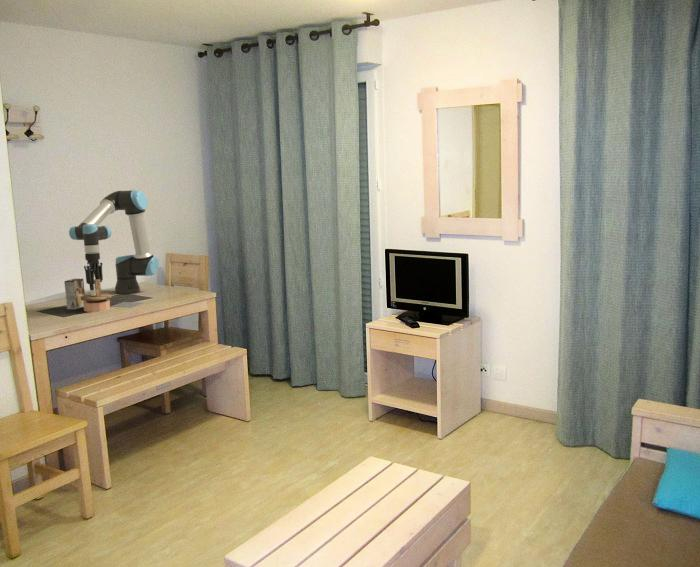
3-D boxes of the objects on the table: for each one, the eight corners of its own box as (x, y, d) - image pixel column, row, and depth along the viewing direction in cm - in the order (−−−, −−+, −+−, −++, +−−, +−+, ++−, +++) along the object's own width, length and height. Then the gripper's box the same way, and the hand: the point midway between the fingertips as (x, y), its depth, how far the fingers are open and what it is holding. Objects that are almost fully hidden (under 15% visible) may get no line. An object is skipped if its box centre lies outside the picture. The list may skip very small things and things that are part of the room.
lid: (92, 295, 389) (90, 277, 387) (117, 295, 385) (115, 277, 383) (74, 300, 373) (72, 282, 372) (100, 301, 369) (98, 282, 368)
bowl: (93, 307, 388) (93, 298, 387) (114, 307, 385) (114, 299, 384) (79, 312, 375) (78, 303, 374) (100, 312, 372) (99, 303, 371)
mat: (123, 302, 399) (123, 302, 399) (144, 303, 396) (144, 302, 396) (109, 307, 386) (109, 306, 386) (131, 308, 382) (131, 307, 382)
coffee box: (76, 306, 393) (73, 278, 390) (86, 306, 392) (83, 278, 389) (66, 309, 384) (64, 281, 381) (77, 309, 383) (74, 281, 380)
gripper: (95, 250, 384) (99, 291, 388) (76, 254, 367) (80, 297, 371) (107, 250, 382) (110, 292, 386) (88, 254, 366) (92, 297, 369)
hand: (95, 294), depth 379 cm, fingers closed on lid, 4 cm apart
